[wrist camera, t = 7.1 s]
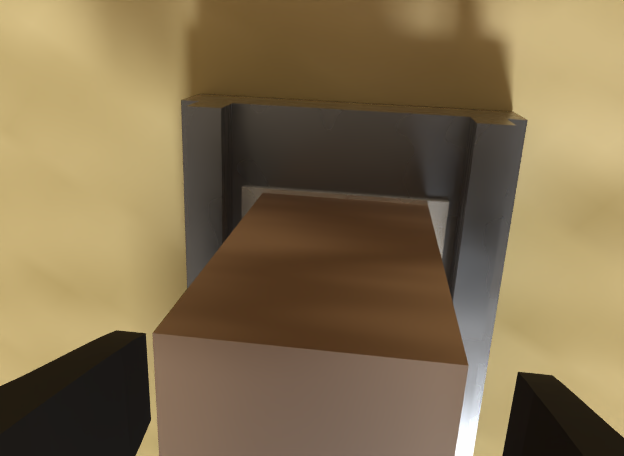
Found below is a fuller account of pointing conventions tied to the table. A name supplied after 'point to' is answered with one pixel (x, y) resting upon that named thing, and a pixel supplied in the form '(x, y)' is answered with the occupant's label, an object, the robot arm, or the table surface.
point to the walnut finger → (314, 338)
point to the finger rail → (366, 187)
